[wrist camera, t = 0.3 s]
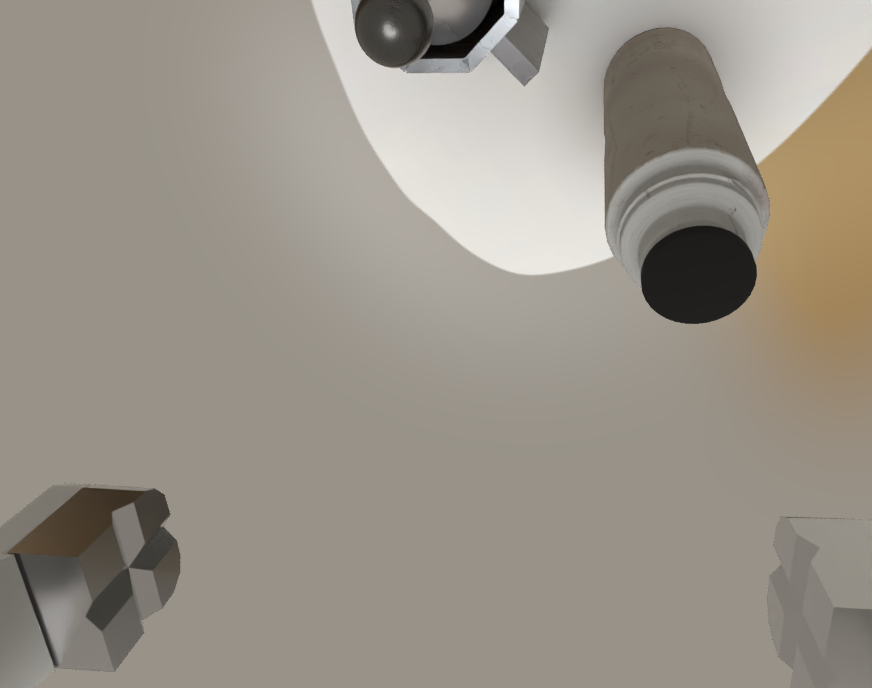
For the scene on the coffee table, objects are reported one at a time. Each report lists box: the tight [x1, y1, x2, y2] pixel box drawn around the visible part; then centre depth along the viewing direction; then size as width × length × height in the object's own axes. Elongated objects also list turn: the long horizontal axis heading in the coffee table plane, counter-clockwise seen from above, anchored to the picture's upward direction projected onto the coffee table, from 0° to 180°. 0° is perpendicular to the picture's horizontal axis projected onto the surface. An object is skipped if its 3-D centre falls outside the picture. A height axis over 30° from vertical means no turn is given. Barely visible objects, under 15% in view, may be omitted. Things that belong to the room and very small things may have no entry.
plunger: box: [355, 0, 493, 68], centre depth 34 cm, size 7×7×12 cm
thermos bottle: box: [604, 28, 770, 324], centre depth 41 cm, size 8×8×28 cm
